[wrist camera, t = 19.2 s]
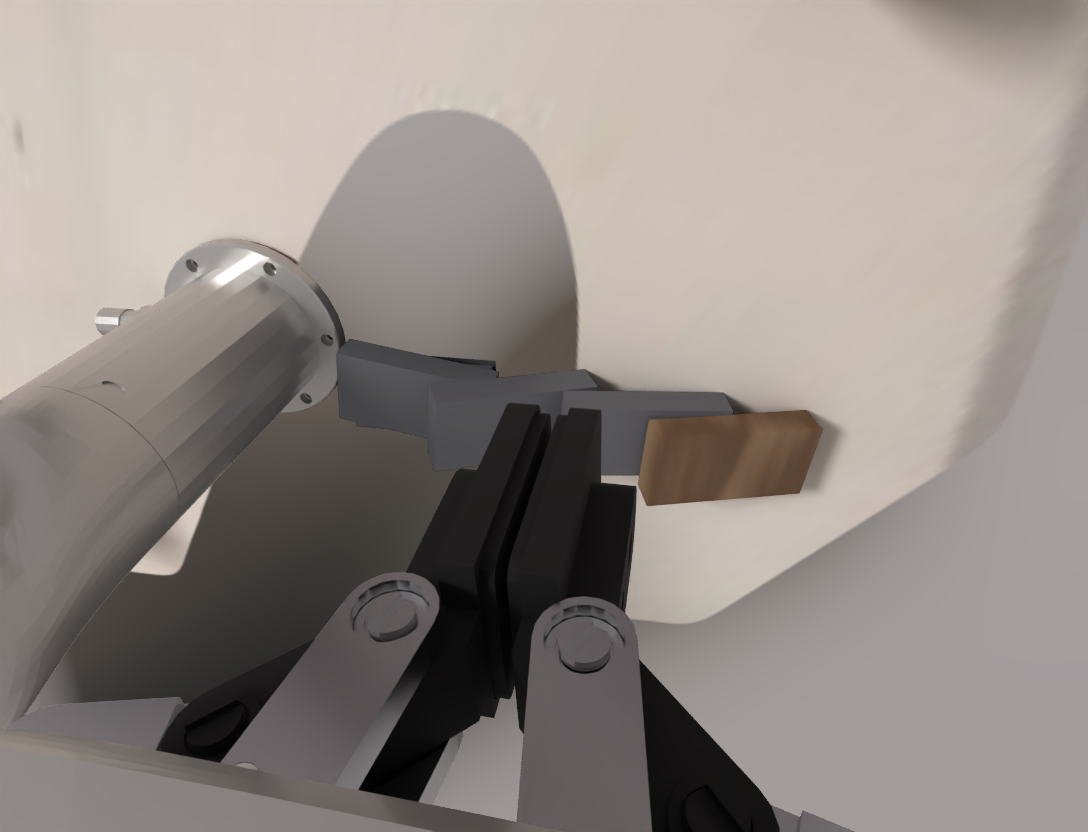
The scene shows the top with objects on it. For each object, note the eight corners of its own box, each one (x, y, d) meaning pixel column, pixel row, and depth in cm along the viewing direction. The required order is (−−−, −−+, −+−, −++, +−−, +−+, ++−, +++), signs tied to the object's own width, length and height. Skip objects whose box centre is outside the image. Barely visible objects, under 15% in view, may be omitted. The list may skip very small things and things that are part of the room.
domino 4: (785, 472, 44) (637, 484, 42) (806, 410, 41) (649, 419, 39) (799, 493, 42) (646, 506, 40) (822, 429, 39) (659, 440, 38)
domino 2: (574, 431, 45) (427, 451, 42) (584, 369, 42) (428, 384, 39) (585, 449, 44) (434, 471, 40) (597, 386, 41) (436, 404, 38)
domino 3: (705, 455, 44) (555, 455, 43) (723, 392, 41) (563, 390, 40) (714, 475, 43) (559, 475, 41) (733, 411, 40) (567, 409, 39)
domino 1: (492, 434, 45) (352, 401, 46) (498, 371, 42) (349, 338, 43) (484, 451, 44) (339, 417, 45) (490, 388, 41) (335, 353, 42)
